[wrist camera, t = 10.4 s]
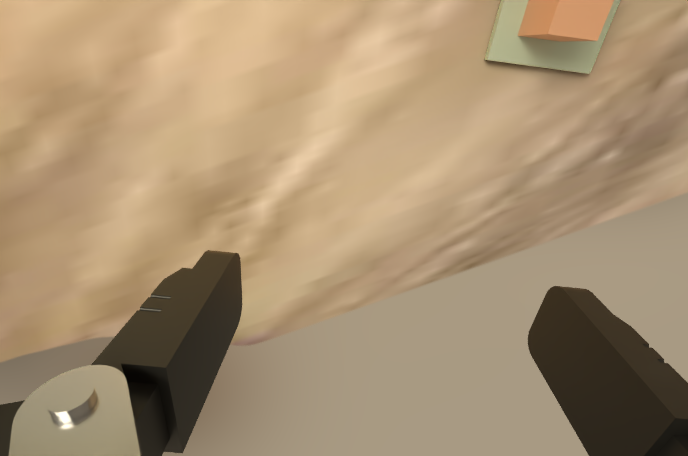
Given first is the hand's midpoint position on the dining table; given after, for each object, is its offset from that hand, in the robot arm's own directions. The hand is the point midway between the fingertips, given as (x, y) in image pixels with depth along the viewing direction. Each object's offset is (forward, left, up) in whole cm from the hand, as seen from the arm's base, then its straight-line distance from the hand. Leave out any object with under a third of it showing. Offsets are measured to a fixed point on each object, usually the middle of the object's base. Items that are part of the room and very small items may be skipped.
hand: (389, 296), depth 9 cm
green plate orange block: (-11, +14, -26) cm, 32 cm away
